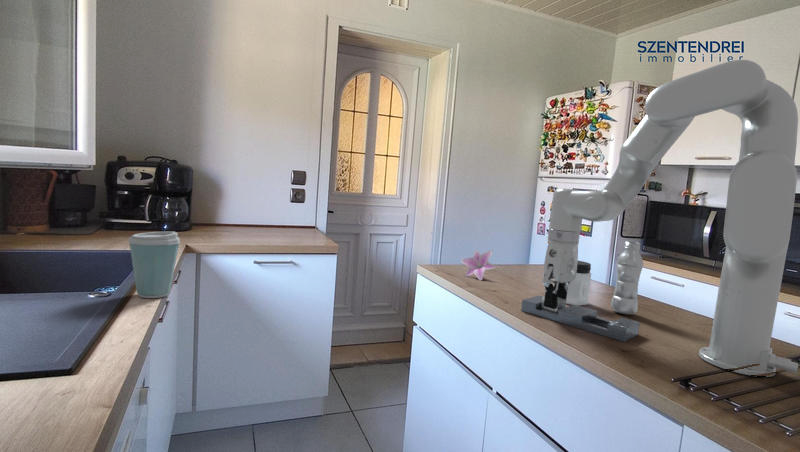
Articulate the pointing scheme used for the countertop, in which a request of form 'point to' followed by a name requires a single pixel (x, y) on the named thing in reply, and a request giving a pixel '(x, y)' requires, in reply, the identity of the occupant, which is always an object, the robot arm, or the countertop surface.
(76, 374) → the countertop surface
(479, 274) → the lily
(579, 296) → the jar
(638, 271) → the plastic bottle
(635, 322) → the rail
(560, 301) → the nut
